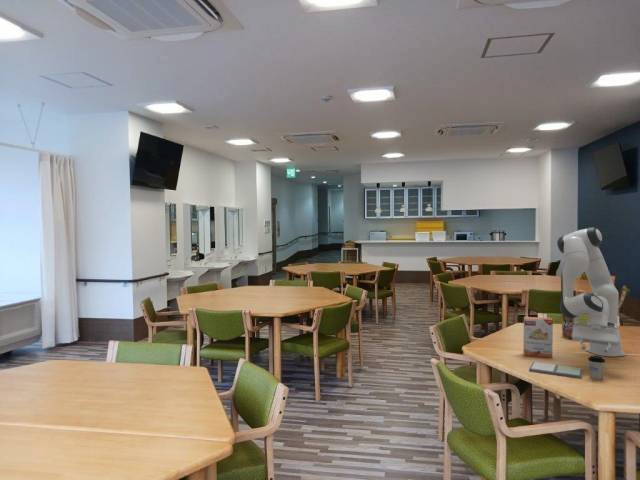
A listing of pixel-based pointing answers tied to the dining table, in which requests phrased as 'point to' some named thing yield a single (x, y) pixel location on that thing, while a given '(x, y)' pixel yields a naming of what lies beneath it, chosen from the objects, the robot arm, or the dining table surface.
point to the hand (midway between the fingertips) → (594, 350)
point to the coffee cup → (596, 367)
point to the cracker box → (538, 337)
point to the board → (556, 370)
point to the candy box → (568, 326)
